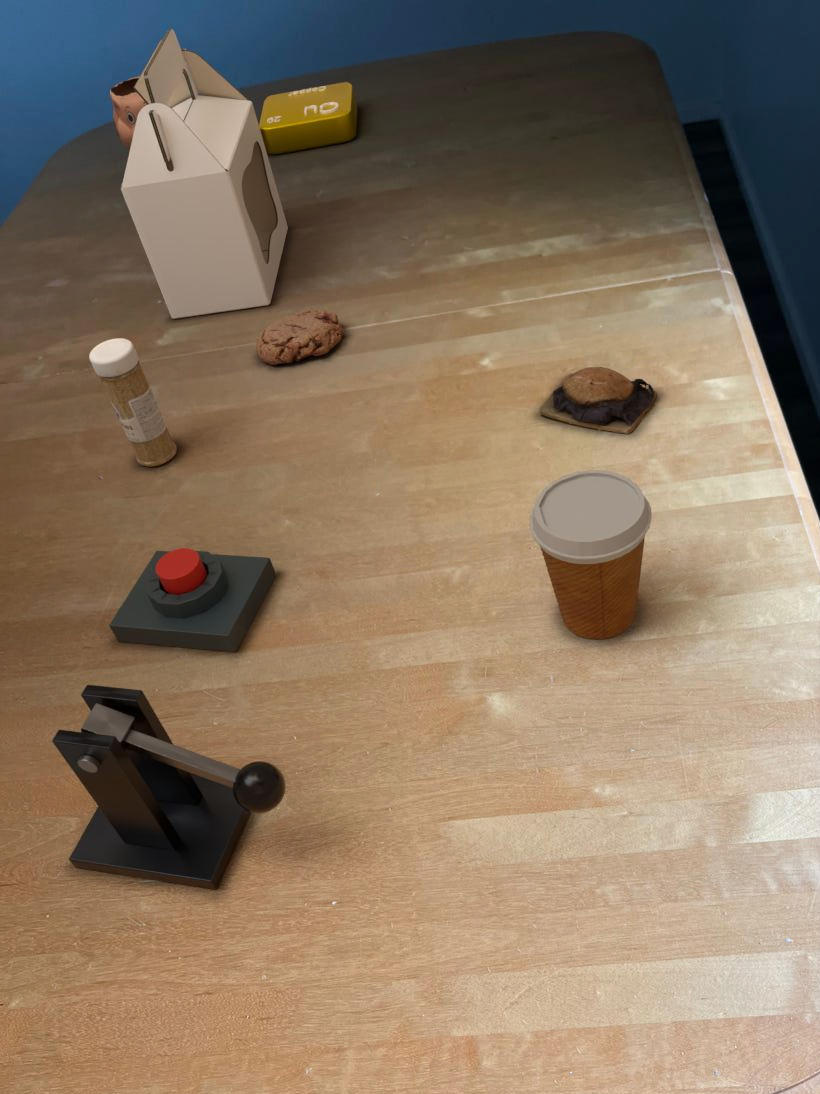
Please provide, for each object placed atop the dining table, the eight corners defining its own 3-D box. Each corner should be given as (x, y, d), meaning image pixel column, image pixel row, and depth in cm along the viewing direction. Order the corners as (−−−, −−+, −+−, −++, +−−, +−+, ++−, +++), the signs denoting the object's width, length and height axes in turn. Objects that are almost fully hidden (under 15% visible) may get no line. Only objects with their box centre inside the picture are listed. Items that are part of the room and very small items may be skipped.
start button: (156, 593, 95) (147, 577, 93) (175, 563, 97) (167, 546, 96) (195, 596, 94) (188, 580, 92) (213, 565, 96) (206, 549, 95)
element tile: (358, 106, 179) (351, 76, 176) (356, 141, 169) (349, 110, 166) (271, 122, 180) (263, 92, 177) (265, 157, 170) (256, 126, 167)
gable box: (199, 241, 152) (124, 28, 132) (288, 227, 151) (226, 10, 131) (171, 321, 137) (81, 94, 117) (270, 306, 136) (197, 74, 115)
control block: (117, 641, 96) (100, 611, 94) (164, 566, 103) (149, 536, 100) (236, 652, 93) (221, 621, 90) (276, 574, 100) (264, 542, 97)
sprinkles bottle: (130, 458, 117) (79, 351, 107) (165, 438, 118) (118, 331, 109) (150, 474, 114) (100, 366, 104) (186, 453, 116) (140, 345, 106)
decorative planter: (136, 156, 178) (104, 68, 168) (207, 140, 179) (179, 51, 169) (134, 204, 164) (98, 112, 154) (211, 186, 165) (180, 93, 155)
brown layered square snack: (535, 419, 111) (531, 389, 108) (571, 375, 115) (568, 345, 113) (628, 439, 106) (626, 408, 104) (662, 392, 111) (661, 362, 108)
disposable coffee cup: (563, 567, 95) (550, 460, 86) (667, 583, 91) (665, 474, 83) (527, 643, 89) (510, 536, 80) (637, 663, 86) (631, 554, 77)
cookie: (243, 354, 128) (236, 332, 126) (310, 314, 133) (303, 292, 131) (293, 379, 123) (286, 357, 121) (360, 337, 127) (355, 314, 125)
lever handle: (289, 787, 76) (296, 762, 73) (271, 829, 74) (277, 805, 71) (100, 717, 75) (100, 690, 72) (76, 758, 73) (75, 731, 70)
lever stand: (262, 788, 83) (203, 672, 73) (216, 890, 77) (146, 779, 67) (127, 771, 86) (54, 658, 76) (74, 867, 80) (-13, 759, 70)
